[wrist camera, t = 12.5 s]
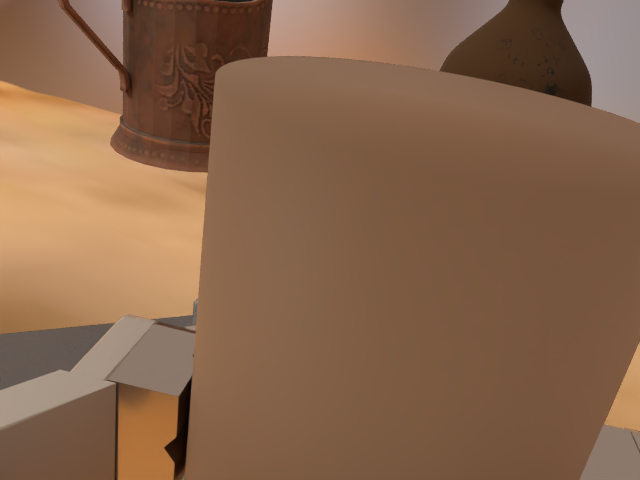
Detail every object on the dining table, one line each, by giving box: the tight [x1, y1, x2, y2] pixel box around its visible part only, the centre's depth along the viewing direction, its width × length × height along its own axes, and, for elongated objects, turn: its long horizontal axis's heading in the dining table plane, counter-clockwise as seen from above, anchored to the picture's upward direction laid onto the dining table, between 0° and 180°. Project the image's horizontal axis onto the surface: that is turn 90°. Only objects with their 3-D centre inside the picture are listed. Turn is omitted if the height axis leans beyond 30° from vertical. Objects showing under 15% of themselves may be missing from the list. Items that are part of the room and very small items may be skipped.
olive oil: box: [440, 0, 592, 107], centre depth 43 cm, size 11×11×25 cm
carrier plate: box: [0, 299, 198, 480], centre depth 27 cm, size 24×20×6 cm
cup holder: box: [58, 0, 273, 172], centre depth 66 cm, size 18×24×25 cm
